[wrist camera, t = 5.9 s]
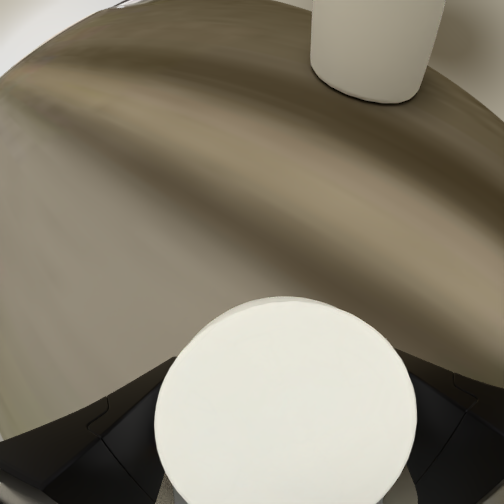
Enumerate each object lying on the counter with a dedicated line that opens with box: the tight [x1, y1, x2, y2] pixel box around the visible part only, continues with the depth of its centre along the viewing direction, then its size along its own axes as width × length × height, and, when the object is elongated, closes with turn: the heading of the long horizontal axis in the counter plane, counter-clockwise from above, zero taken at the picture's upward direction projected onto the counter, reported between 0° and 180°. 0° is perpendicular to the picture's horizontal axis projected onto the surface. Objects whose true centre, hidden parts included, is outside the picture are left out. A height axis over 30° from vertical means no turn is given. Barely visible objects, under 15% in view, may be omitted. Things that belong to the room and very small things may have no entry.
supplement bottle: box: [154, 296, 417, 504], centre depth 10 cm, size 7×7×13 cm
